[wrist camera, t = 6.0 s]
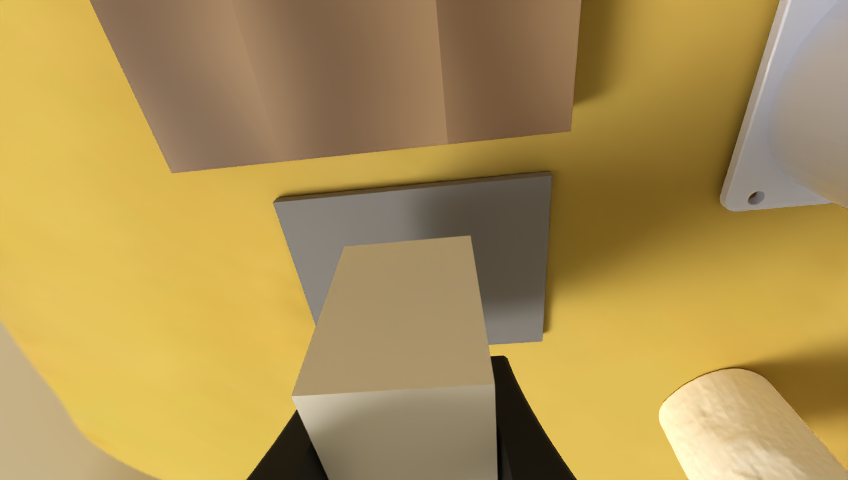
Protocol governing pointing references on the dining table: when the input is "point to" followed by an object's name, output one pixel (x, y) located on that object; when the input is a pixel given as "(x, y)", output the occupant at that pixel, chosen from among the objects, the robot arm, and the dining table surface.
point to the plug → (401, 367)
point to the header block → (341, 74)
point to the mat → (437, 218)
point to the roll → (742, 432)
